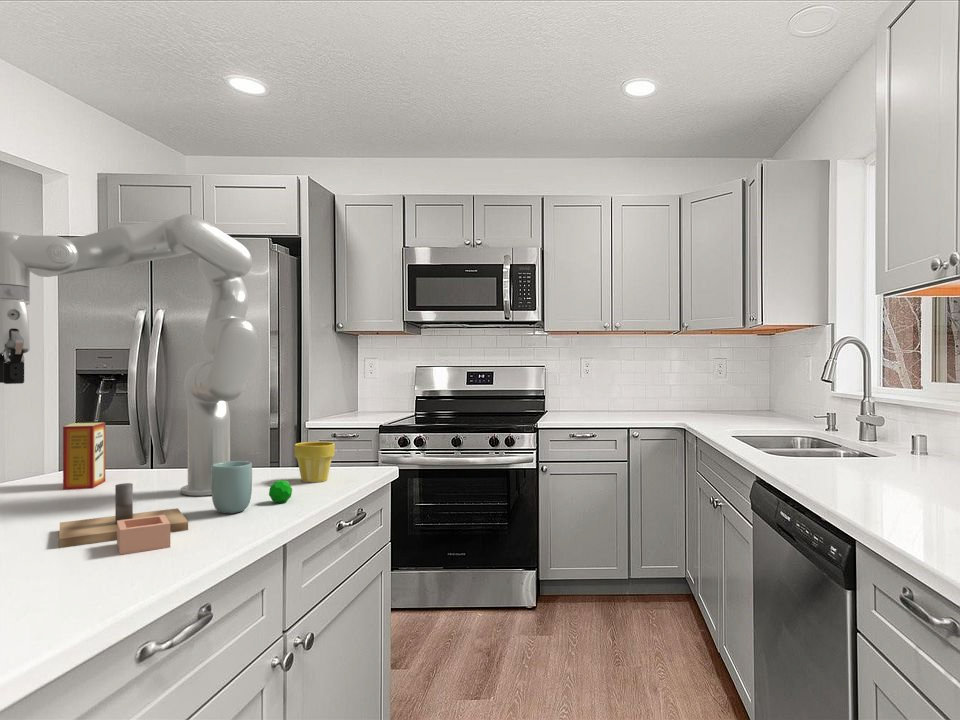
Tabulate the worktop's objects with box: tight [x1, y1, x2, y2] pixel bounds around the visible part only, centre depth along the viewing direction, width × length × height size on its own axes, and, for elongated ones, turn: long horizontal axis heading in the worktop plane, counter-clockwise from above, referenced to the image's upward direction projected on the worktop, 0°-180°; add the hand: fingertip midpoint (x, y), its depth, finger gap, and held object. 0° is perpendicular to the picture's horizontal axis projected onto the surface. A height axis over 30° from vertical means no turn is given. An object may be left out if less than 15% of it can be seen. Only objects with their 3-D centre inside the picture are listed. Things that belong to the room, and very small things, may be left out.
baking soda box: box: [62, 421, 106, 491], centre depth 159 cm, size 10×6×16 cm
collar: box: [116, 515, 171, 555], centre depth 106 cm, size 7×7×4 cm
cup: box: [211, 460, 253, 515], centre depth 130 cm, size 8×8×10 cm
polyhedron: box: [268, 479, 293, 504], centre depth 139 cm, size 5×5×5 cm
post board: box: [58, 482, 189, 548], centre depth 116 cm, size 20×13×8 cm, turn 124°
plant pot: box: [293, 441, 336, 483], centre depth 165 cm, size 10×10×10 cm
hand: (5, 383), depth 121 cm, fingers open, 9 cm apart
